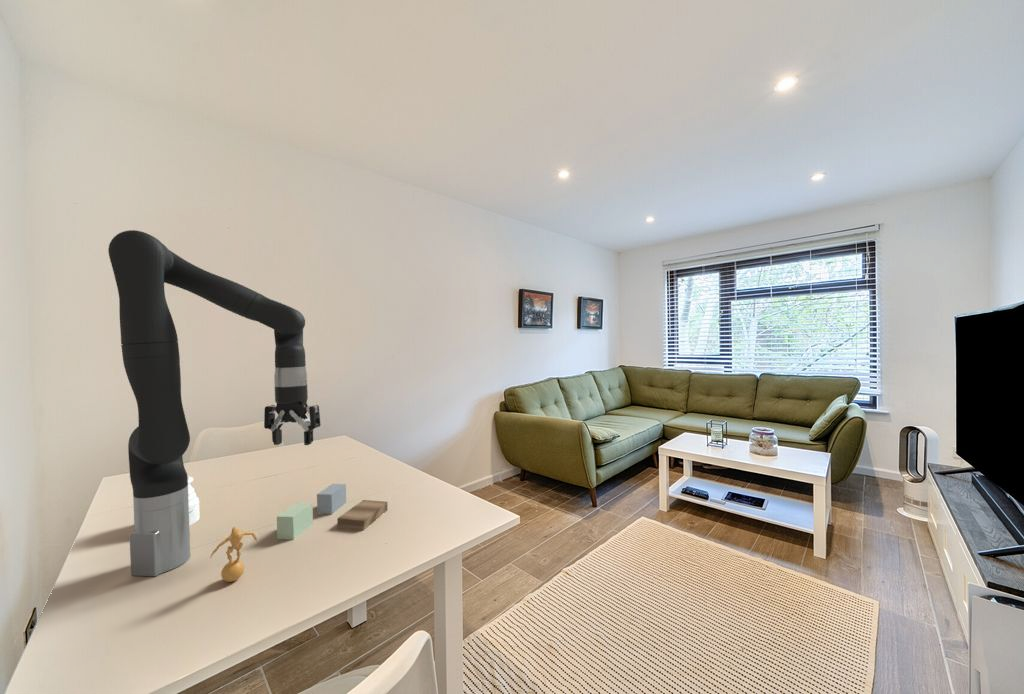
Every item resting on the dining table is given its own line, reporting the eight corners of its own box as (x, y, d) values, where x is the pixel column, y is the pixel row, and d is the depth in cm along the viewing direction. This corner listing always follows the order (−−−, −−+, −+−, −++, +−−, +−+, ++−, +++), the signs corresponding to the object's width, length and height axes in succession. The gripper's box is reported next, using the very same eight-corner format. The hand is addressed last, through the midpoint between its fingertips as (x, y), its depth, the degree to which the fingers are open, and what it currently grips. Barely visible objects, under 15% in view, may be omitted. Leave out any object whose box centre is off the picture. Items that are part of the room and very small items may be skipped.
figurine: (251, 567, 85) (250, 514, 85) (262, 576, 81) (261, 521, 81) (206, 586, 78) (204, 530, 78) (215, 598, 75) (213, 538, 75)
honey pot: (208, 510, 114) (206, 452, 114) (186, 531, 102) (183, 465, 102) (155, 517, 110) (153, 457, 110) (126, 539, 98) (123, 471, 98)
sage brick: (293, 539, 97) (293, 516, 97) (277, 539, 97) (276, 516, 97) (312, 524, 105) (312, 503, 105) (297, 524, 105) (297, 502, 105)
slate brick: (331, 514, 110) (331, 494, 110) (317, 514, 111) (316, 494, 111) (346, 502, 118) (345, 484, 118) (332, 502, 119) (332, 483, 119)
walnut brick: (364, 531, 101) (363, 520, 101) (337, 529, 102) (337, 518, 102) (387, 511, 113) (387, 501, 113) (363, 509, 114) (363, 499, 114)
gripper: (255, 385, 97) (257, 448, 97) (307, 385, 96) (309, 448, 96) (276, 382, 104) (278, 440, 105) (324, 382, 103) (326, 440, 104)
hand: (293, 444), depth 100 cm, fingers open, 8 cm apart
